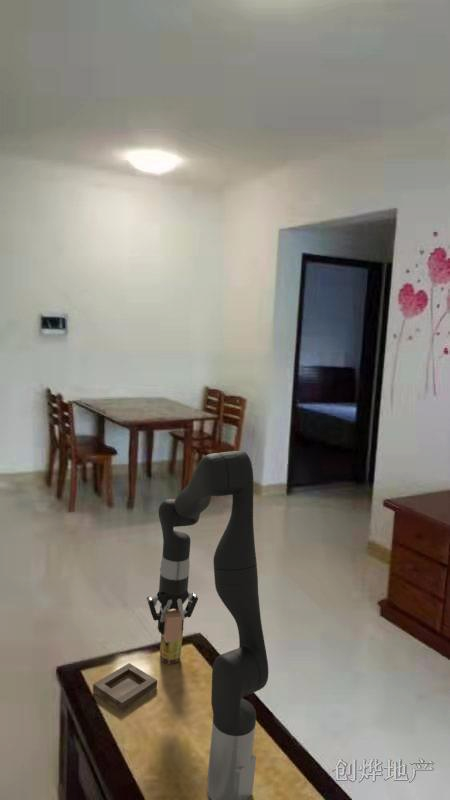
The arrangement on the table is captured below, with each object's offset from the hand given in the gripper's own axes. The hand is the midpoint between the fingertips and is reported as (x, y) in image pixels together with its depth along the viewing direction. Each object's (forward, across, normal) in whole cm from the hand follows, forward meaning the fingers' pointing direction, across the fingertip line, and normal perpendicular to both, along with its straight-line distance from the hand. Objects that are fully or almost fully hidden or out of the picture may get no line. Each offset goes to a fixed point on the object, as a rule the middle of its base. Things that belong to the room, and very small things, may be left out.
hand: (170, 631), depth 162 cm
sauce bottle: (+18, +5, +14) cm, 23 cm away
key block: (+1, 0, 0) cm, 1 cm away
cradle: (+18, -11, +2) cm, 21 cm away
